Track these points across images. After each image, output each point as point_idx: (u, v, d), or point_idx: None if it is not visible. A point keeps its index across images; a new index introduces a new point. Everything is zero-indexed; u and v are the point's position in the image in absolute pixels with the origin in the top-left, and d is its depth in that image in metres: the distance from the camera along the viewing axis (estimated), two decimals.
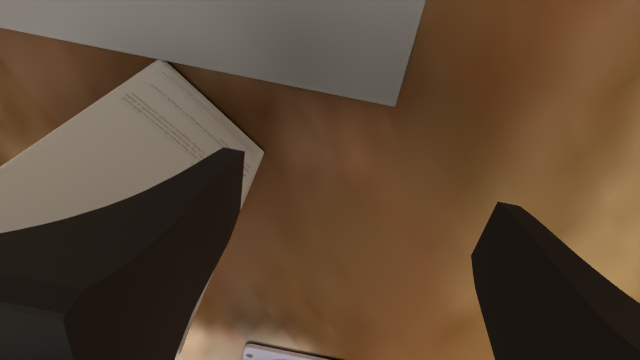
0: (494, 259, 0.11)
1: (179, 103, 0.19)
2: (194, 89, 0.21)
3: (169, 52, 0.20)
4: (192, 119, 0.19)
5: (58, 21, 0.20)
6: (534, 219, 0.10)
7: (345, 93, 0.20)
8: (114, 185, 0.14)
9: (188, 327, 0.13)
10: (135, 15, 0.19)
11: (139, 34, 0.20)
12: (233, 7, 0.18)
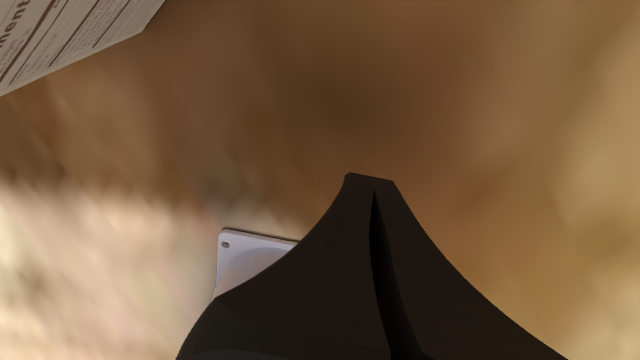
0: None
1: None
2: None
3: None
4: None
5: None
6: (396, 192, 0.10)
7: None
8: None
9: None
10: None
11: None
12: None
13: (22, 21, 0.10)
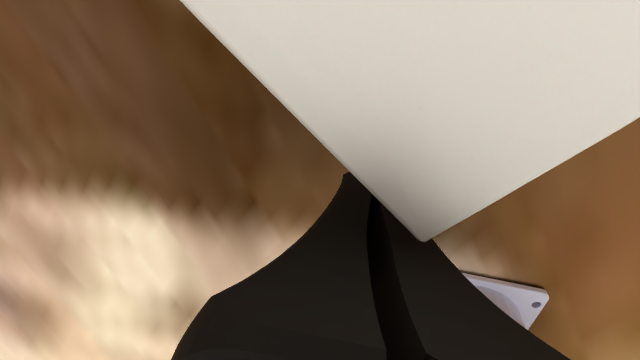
0: None
1: None
2: None
3: None
4: None
5: None
6: None
7: None
8: None
9: None
10: None
11: None
12: None
13: None
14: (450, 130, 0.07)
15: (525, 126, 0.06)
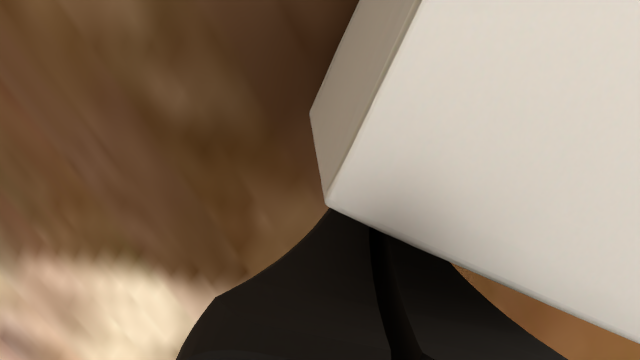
0: None
1: None
2: None
3: None
4: None
5: None
6: None
7: None
8: None
9: None
10: None
11: None
12: None
13: None
14: None
15: None
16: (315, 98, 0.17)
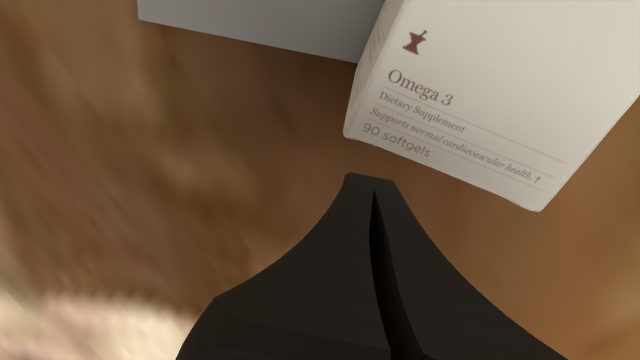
0: None
1: None
2: None
3: None
4: None
5: (258, 23, 0.19)
6: (396, 192, 0.10)
7: None
8: None
9: None
10: (345, 17, 0.18)
11: (344, 37, 0.19)
12: None
13: None
14: None
15: None
16: (347, 115, 0.14)
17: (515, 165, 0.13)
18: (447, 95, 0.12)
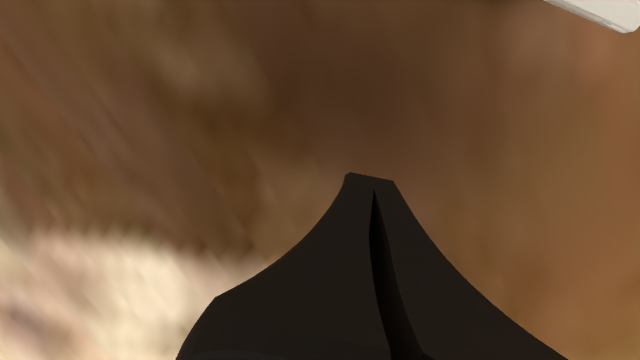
0: None
1: None
2: None
3: None
4: None
5: None
6: (396, 192, 0.10)
7: None
8: None
9: None
10: None
11: None
12: None
13: None
14: None
15: None
16: None
17: None
18: None
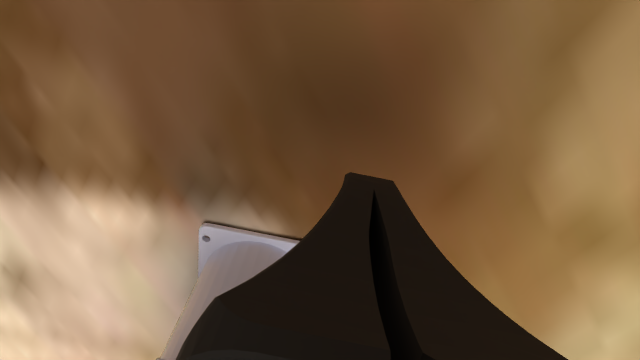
0: None
1: None
2: None
3: None
4: None
5: None
6: (396, 192, 0.10)
7: None
8: None
9: None
10: None
11: None
12: None
13: None
14: None
15: None
16: None
17: None
18: None
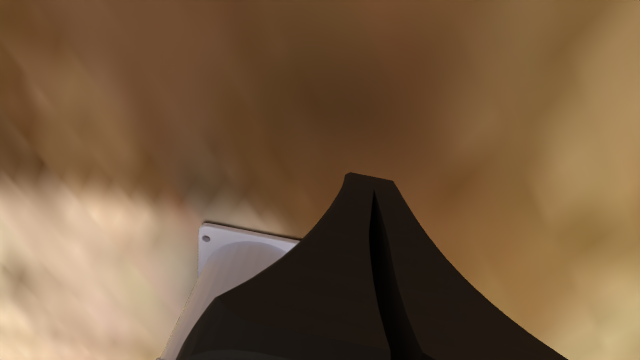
0: None
1: None
2: None
3: None
4: None
5: None
6: (396, 192, 0.10)
7: None
8: None
9: None
10: None
11: None
12: None
13: None
14: None
15: None
16: None
17: None
18: None
